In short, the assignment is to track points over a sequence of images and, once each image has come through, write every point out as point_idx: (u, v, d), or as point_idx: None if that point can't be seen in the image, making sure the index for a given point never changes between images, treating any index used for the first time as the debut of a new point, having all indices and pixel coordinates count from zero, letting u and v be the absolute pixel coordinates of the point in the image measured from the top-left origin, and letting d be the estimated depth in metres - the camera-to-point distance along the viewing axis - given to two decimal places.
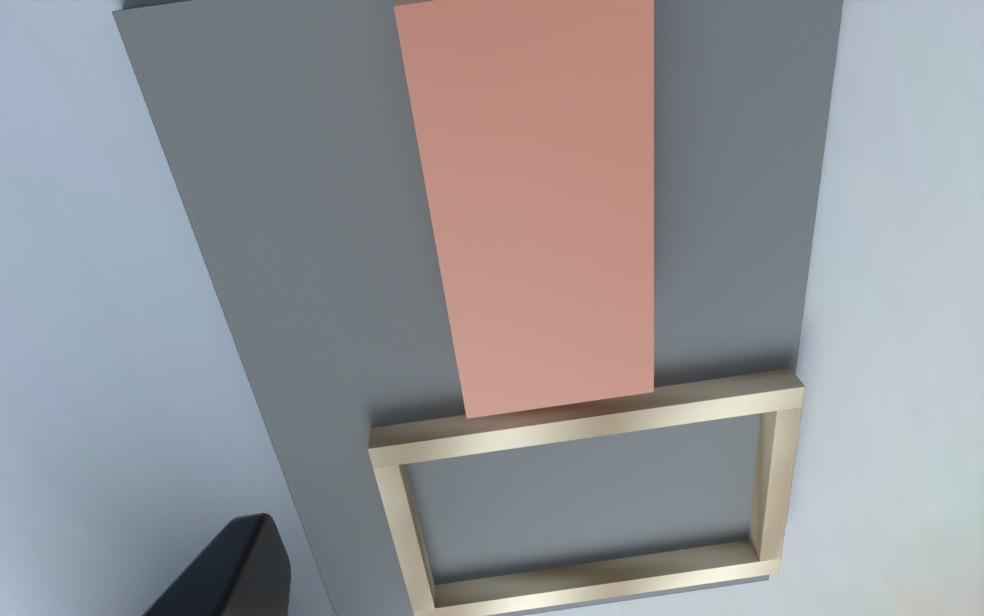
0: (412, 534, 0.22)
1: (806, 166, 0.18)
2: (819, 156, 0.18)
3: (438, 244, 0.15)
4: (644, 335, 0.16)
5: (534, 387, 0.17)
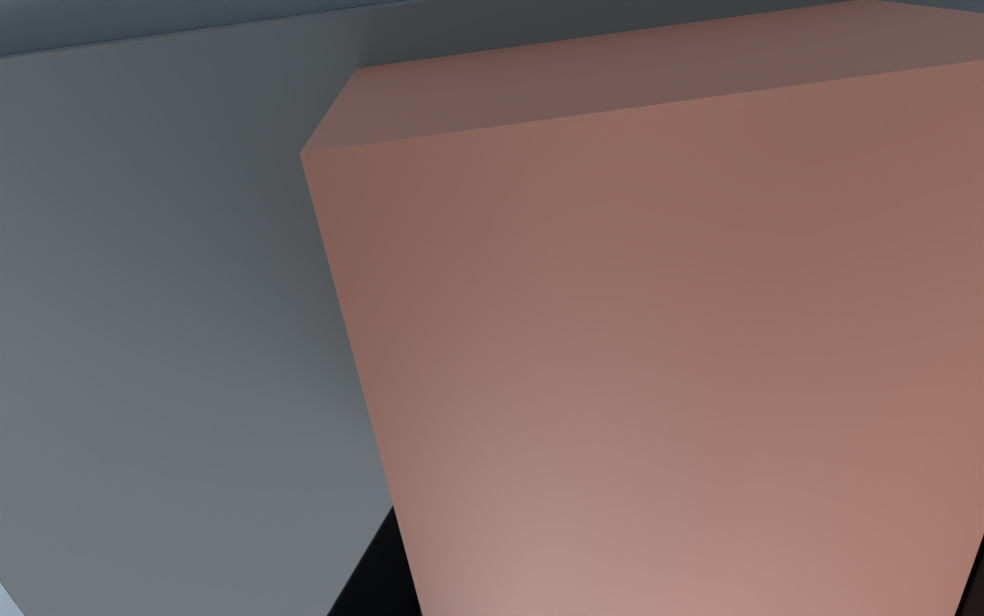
0: None
1: None
2: None
3: None
4: None
5: None
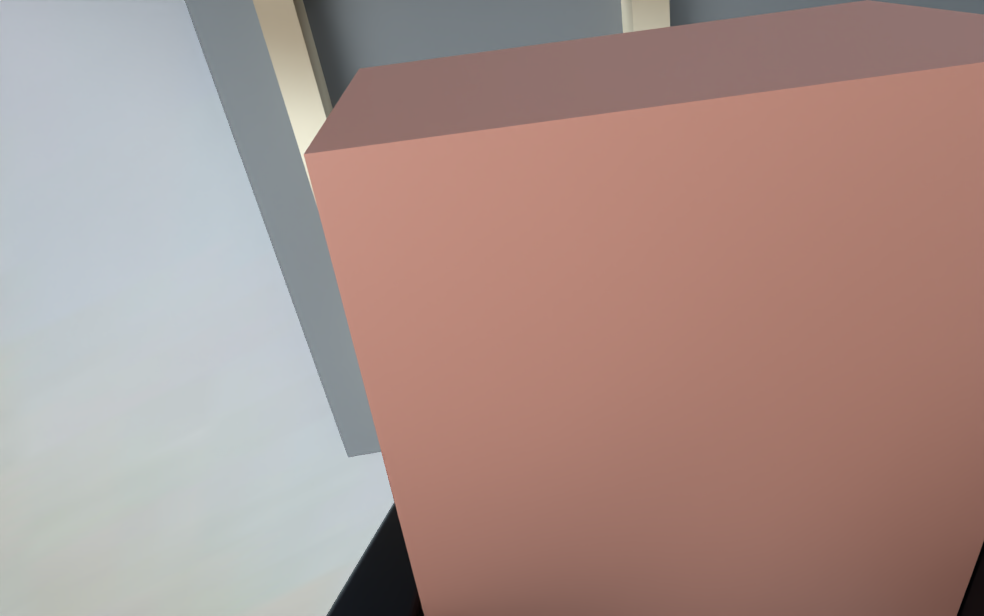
0: None
1: None
2: None
3: None
4: None
5: None
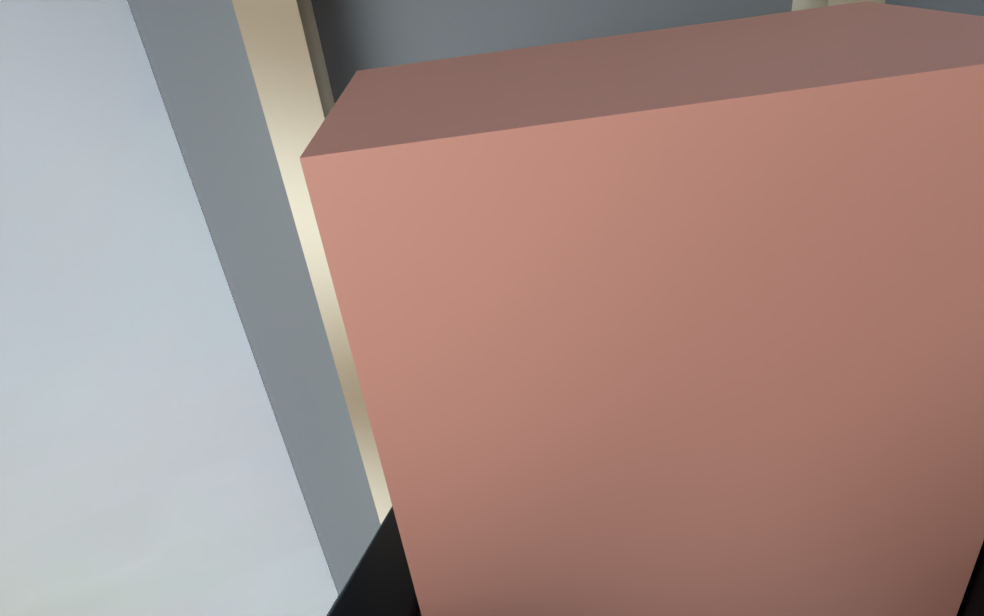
0: None
1: None
2: None
3: None
4: None
5: None
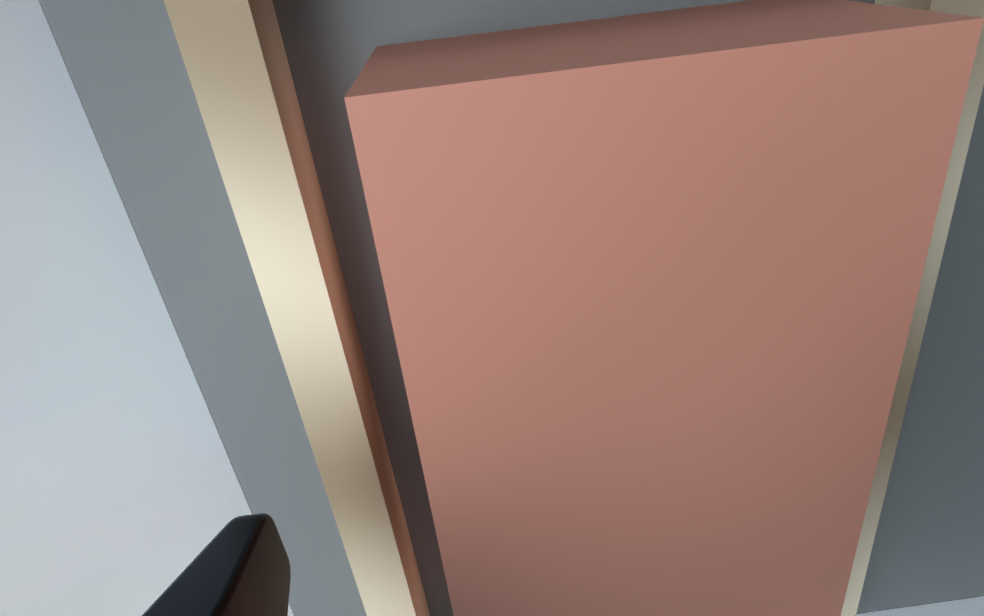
0: None
1: None
2: None
3: (443, 544, 0.07)
4: None
5: None
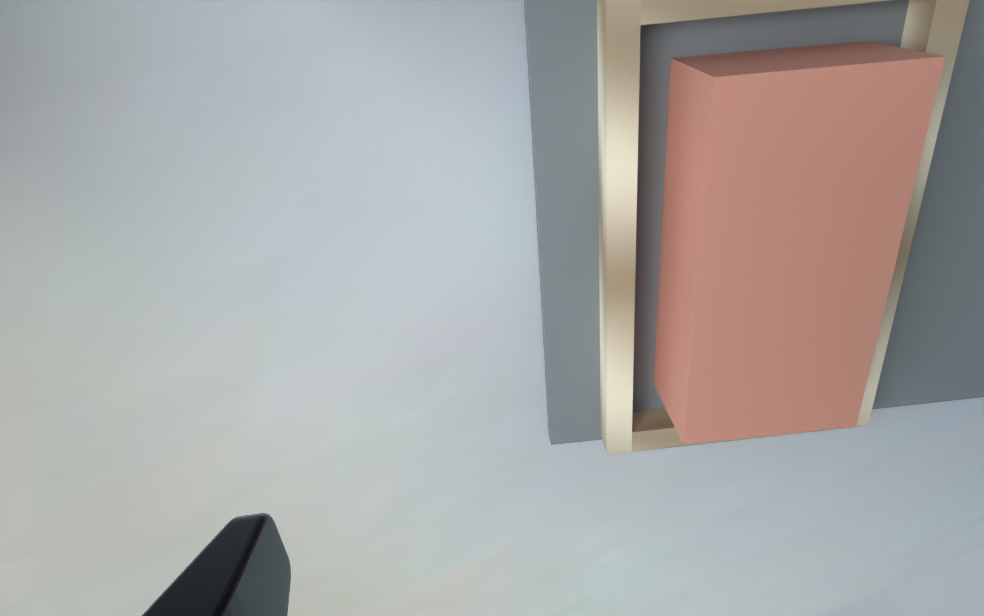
0: (807, 3, 0.15)
1: None
2: None
3: (699, 286, 0.16)
4: (860, 375, 0.18)
5: (751, 418, 0.18)
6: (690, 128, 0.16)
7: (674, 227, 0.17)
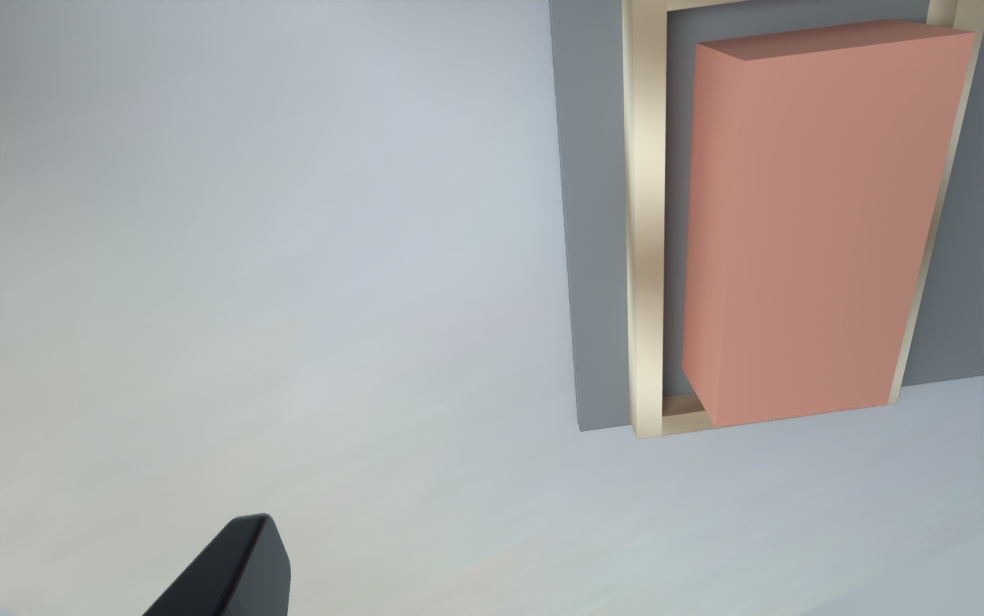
0: None
1: None
2: None
3: (730, 270, 0.16)
4: (891, 353, 0.18)
5: (782, 399, 0.18)
6: (718, 113, 0.16)
7: (702, 212, 0.18)
